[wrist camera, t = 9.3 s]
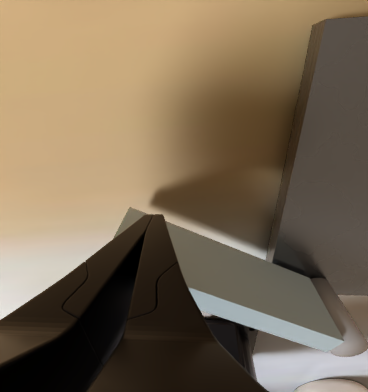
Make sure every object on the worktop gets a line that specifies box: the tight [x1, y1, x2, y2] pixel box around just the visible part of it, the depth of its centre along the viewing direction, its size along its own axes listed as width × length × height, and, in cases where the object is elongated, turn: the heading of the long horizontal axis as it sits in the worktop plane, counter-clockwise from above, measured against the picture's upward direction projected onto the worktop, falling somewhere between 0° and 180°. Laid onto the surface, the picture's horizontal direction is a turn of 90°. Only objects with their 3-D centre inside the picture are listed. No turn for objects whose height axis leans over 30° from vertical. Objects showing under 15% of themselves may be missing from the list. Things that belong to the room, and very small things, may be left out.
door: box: [113, 207, 368, 357], centre depth 11 cm, size 14×2×4 cm, turn 66°
